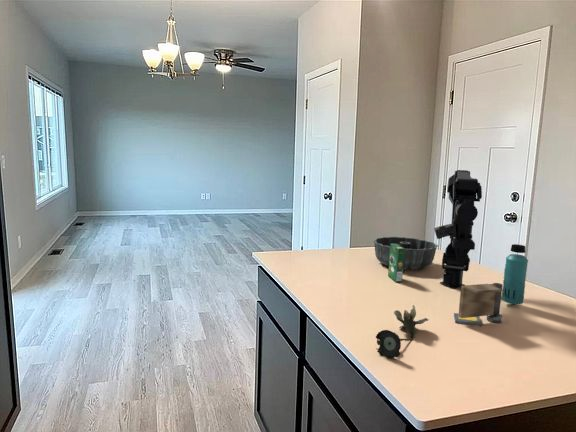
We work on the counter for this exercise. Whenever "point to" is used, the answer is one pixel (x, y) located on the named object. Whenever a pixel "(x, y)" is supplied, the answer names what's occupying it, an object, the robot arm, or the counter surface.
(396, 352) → the artificial flower
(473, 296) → the brown wooden block
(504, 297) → the beverage bottle
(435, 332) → the counter surface
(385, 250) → the bundt pan
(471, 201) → the robot arm
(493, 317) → the pivot foot
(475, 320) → the label plaque
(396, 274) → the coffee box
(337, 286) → the counter surface
